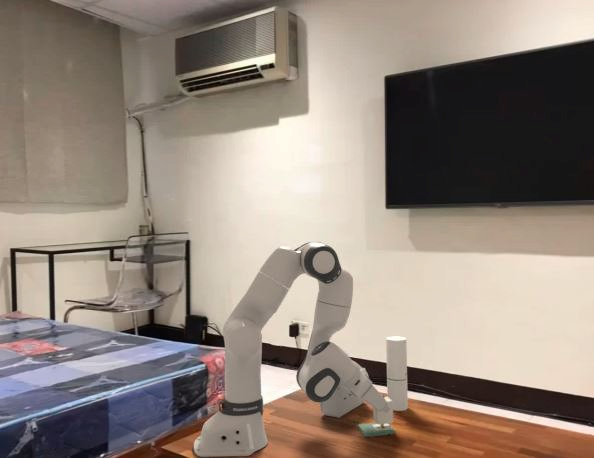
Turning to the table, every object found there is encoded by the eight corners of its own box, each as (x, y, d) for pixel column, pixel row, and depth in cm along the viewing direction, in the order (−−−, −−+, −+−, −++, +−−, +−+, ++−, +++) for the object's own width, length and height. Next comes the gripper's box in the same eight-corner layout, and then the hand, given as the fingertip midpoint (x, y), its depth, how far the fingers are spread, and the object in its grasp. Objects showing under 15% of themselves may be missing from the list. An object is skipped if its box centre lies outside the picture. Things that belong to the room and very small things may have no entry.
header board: (365, 436, 171) (365, 426, 171) (357, 427, 179) (357, 417, 179) (395, 433, 173) (395, 423, 173) (387, 424, 181) (386, 414, 181)
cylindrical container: (410, 406, 198) (409, 337, 198) (403, 412, 192) (401, 341, 192) (392, 403, 202) (390, 335, 202) (384, 408, 196) (383, 339, 196)
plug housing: (378, 424, 173) (377, 399, 173) (373, 419, 178) (372, 394, 178) (393, 422, 174) (392, 398, 174) (388, 417, 179) (387, 393, 179)
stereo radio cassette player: (348, 399, 208) (347, 346, 208) (368, 402, 203) (366, 349, 203) (319, 416, 191) (317, 358, 190) (339, 420, 186) (338, 361, 186)
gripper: (339, 378, 184) (368, 404, 186) (357, 397, 164) (389, 426, 166) (351, 364, 185) (380, 390, 187) (371, 381, 165) (402, 410, 167)
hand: (384, 407), depth 176 cm, fingers closed on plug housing, 5 cm apart
